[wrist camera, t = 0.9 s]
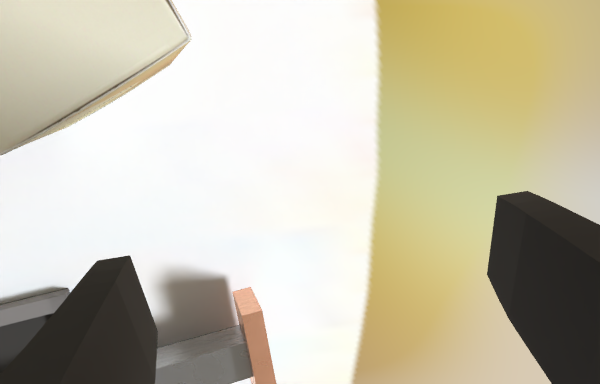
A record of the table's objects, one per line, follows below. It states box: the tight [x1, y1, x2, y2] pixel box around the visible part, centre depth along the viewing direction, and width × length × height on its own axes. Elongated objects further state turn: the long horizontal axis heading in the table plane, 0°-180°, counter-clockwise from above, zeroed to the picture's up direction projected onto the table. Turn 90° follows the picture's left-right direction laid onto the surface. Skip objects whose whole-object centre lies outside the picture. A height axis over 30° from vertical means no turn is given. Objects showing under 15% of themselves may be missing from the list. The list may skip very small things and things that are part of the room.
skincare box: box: [0, 0, 191, 155], centre depth 18 cm, size 6×4×12 cm
